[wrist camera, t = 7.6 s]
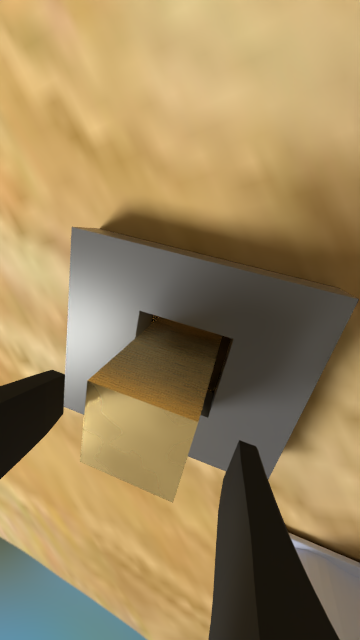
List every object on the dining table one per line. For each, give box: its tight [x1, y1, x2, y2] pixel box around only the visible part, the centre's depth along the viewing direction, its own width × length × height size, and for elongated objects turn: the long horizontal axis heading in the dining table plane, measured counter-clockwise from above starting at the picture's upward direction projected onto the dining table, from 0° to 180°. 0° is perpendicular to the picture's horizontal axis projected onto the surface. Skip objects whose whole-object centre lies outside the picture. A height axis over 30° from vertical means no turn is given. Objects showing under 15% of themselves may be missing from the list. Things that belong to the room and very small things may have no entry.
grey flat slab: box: [64, 227, 359, 479], centre depth 15 cm, size 14×12×2 cm
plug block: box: [80, 317, 222, 502], centre depth 12 cm, size 4×4×8 cm
